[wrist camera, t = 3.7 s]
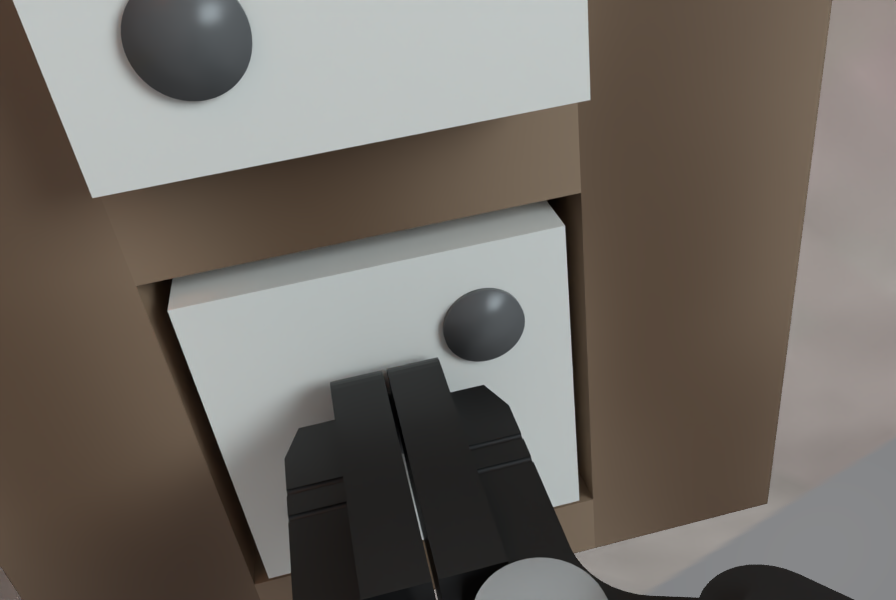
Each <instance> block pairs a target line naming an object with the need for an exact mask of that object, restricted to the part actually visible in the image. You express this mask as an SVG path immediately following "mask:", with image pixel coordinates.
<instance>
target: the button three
mask: <svg viewBox="0 0 896 600" xmlns="http://www.w3.org/2000/svg"><path fill="white" fill-rule="evenodd" d="M167 311H168V314H169V316H170V319H171V322H172V324H173V327H174V329H175V332H176V335H177V337H178V340H179V343H180V345H181V348H182V351H183V353H184V356H185V358H186V361H187V364H188V366H189V369H190V372H191V374H192V377H193V380H194V382H195V385H196V387H197V390H198V393H199V395H200V398H201V401H202V403H203V406H204V409H205V411H206V414H207V416H208V419H209V422H210V424H211V427H212V430H213V432H214V435H215V438H216V440H217V443H218V446H219V448H220V451H221V453H222V456H223V459H224V461H225V464H226V467H227V469H228V472H229V475H230V477H231V480H232V482H233V485H234V488H235V490H236V493H237V496H238V498H239V501H240V504H241V506H242V509H243V511H244V514H245V517H246V519H247V522H248V525H249V527H250V530H251V533H252V535H253V538H254V540H255V543H256V546H257V548H258V551H259V554H260V556H261V559H262V562H263V564H264V567H265V569H266V572H267V575H268V577H269V578H273V577H277V576H281V575H285V574H289V573H291V564H290V546H289V529H288V522H289V519H288V512H287V491H286V477H285V460H284V459H285V456H286V454H287V452H288V450H289V448H290V446H291V443H292V441H293V439H294V437H295V435H296V433H297V430H298V428H301V427H306V426H310V425H314V424H318V423H323V422H327V421H331V420H335V417H334V410H333V403H332V396H331V389H330V382H332V381H336V380H341V379H345V378H349V377H354V376H358V375H363V374H367V373H371V372H376V371H380V370H382V373H383V377H384V381H385V385H386V389H387V394H388V398H389V402H390V406H391V410H392V415H393V419H394V423H395V427H396V432H397V436H398V440H399V444H400V448H401V453H402V457H403V461H404V465H405V470H406V474H407V478H408V482H409V486H410V491H411V495H412V499H413V503H414V508H415V512H416V516H417V520H418V524H419V529H420V533H421V537H422V540H424V539H423V534H422V530H421V526H420V522H419V518H418V513H417V509H416V505H415V501H414V497H413V493H412V488H411V484H410V479H409V475H408V471H407V466H406V462H405V457H404V452H403V447H402V442H401V438H400V433H399V428H398V423H397V418H396V414H395V409H394V404H393V399H392V394H391V390H390V385H389V380H388V375H387V370H386V369H388V368H392V367H397V366H401V365H405V364H410V363H414V362H419V361H423V360H427V359H432V358H436V357H438V359H439V361H440V364H441V366H442V369H443V372H444V375H445V378H446V381H447V384H448V387H449V390H450V392H454V391H459V390H463V389H467V388H472V387H476V386H480V385H485V386H486V387H487V388H488V389H490V390H491V391H492V392H493V393H495V394H496V395H497V396H498V397H500V398H501V399H502V400H503V401H505V402H506V403H507V404H508V405H509V406H510V409H511V411H512V413H513V416H514V418H515V420H516V422H517V425H518V427H519V429H520V432H521V436H522V439H524V441H525V443H526V446H527V448H528V450H529V452H530V455H531V459H532V462H534V464H535V466H536V469H537V471H538V473H539V476H540V478H541V480H542V483H543V485H544V487H545V489H546V492H547V494H548V496H549V499H550V501H551V503H552V506H553V507H556V506H560V505H564V504H568V503H572V502H576V501H579V483H578V464H577V444H576V425H575V406H574V387H573V368H572V349H571V329H570V310H569V291H568V272H567V253H566V233H565V225H564V224H563V222H562V221H561V219H560V218H559V217H558V215H557V214H556V213H555V211H554V210H553V209H552V207H551V206H550V205H549V203H548V202H547V200H544V201H539V202H535V203H530V204H525V205H520V206H516V207H511V208H506V209H501V210H497V211H492V212H487V213H482V214H477V215H473V216H468V217H463V218H458V219H454V220H449V221H444V222H439V223H434V224H430V225H425V226H420V227H415V228H411V229H406V230H401V231H396V232H392V233H387V234H382V235H377V236H372V237H368V238H363V239H358V240H353V241H349V242H344V243H339V244H334V245H330V246H325V247H320V248H315V249H310V250H306V251H301V252H296V253H291V254H287V255H282V256H277V257H272V258H267V259H263V260H258V261H253V262H248V263H244V264H239V265H234V266H229V267H225V268H220V269H215V270H210V271H205V272H201V273H196V274H191V275H186V276H182V277H177V278H173V279H172V285H171V291H170V298H169V304H168V310H167Z"/></svg>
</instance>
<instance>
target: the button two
mask: <svg viewBox="0 0 896 600" xmlns="http://www.w3.org/2000/svg"><path fill="white" fill-rule="evenodd" d="M13 2H14V5H15V7H16V10H17V12H18V15H19V17H20V20H21V22H22V25H23V27H24V30H25V32H26V34H27V37H28V39H29V42H30V44H31V47H32V49H33V52H34V54H35V57H36V59H37V62H38V64H39V67H40V69H41V72H42V74H43V77H44V79H45V82H46V84H47V87H48V89H49V92H50V94H51V97H52V99H53V101H54V104H55V106H56V109H57V111H58V114H59V116H60V119H61V121H62V124H63V126H64V129H65V131H66V134H67V136H68V139H69V141H70V144H71V146H72V149H73V151H74V154H75V156H76V159H77V161H78V163H79V166H80V168H81V171H82V173H83V176H84V178H85V181H86V183H87V186H88V188H89V191H90V193H91V196H92V198H96V197H101V196H106V195H111V194H116V193H121V192H126V191H132V190H137V189H142V188H147V187H152V186H157V185H162V184H167V183H172V182H177V181H182V180H187V179H192V178H197V177H202V176H208V175H213V174H218V173H223V172H228V171H233V170H238V169H243V168H248V167H253V166H258V165H263V164H268V163H273V162H279V161H284V160H289V159H294V158H299V157H304V156H309V155H314V154H319V153H324V152H329V151H334V150H339V149H344V148H349V147H355V146H360V145H365V144H370V143H375V142H380V141H385V140H390V139H395V138H400V137H405V136H410V135H415V134H420V133H426V132H431V131H436V130H441V129H446V128H451V127H456V126H461V125H466V124H471V123H476V122H481V121H486V120H491V119H496V118H502V117H507V116H512V115H517V114H522V113H527V112H532V111H537V110H542V109H547V108H552V107H557V106H562V105H567V104H572V103H578V102H583V101H588V100H590V67H589V34H588V1H587V0H13Z"/></svg>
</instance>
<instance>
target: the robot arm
mask: <svg viewBox="0 0 896 600" xmlns="http://www.w3.org/2000/svg"><path fill="white" fill-rule="evenodd" d="M386 370H387V375H388V380H389V385H390V390H391V394H392V399H393V404H394V409H395V414H396V418H397V423H398V428H399V433H400V438H401V442H402V447H403V452H404V457H405V462H406V466H407V471H408V475H409V479H410V484H411V488H412V493H413V497H414V501H415V505H416V509H417V513H418V518H419V522H420V526H421V530H422V534H423V539H424V543H425V547H426V551H427V555H428V559H429V564H430V568H431V572H432V576H433V580H434V584H435V589H436V593H437V597H438V600H854V599H851V598H849V597H847V596H845V595H843V594H841V593H838V592H836V591H834V590H832V589H830V588H828V587H826V586H823V585H821V584H819V583H817V582H815V581H813V580H810V579H808V578H806V577H804V576H802V575H800V574H797V573H795V572H792V571H789V570H787V569H783V568H779V567H775V566H769V565H745V566H739V567H735V568H732V569H729V570H726V571H724V572H722V573H720V574H719V575H717V576H716V577H715V578H713V579H712V580H711V581H710V582H709V583H708V584H707V585H706V587H705V588H704V589H703V591H702V593H701V595H700V597H699V598H691V597H666V596H647V595H638V594H633V593H629V592H625V591H622V590H619V589H617V588H614V587H611V586H610V585H608V584H606V583H604V582H602V581H600V580H599V579H597V578H596V577H595V576H593V575H592V574H591V573H589V572H588V571H587V570H586V569H585V568H584V567H583V566H582V565H581V563H580V562H579V561H578V559H577V558H576V557H575V555H574V553H573V551H572V549H571V547H570V545H569V543H568V540H567V538H566V536H565V533H564V531H563V529H562V526H561V524H560V522H559V519H558V517H557V515H556V513H555V510H554V508H553V506H552V503H551V501H550V499H549V496H548V494H547V492H546V489H545V487H544V485H543V483H542V480H541V478H540V476H539V473H538V471H537V469H536V466H535V464H534V462H532V459H531V455H530V452H529V450H528V448H527V446H526V443H525V441H524V439H522V436H521V432H520V429H519V427H518V425H517V422H516V420H515V418H514V416H513V413H512V411H511V409H510V406H509V405H508V404H507V403H506V402H505V401H503V400H502V399H501V398H500V397H498V396H497V395H496V394H495V393H493V392H492V391H491V390H490V389H488V388H487V387H486V386H485V385H480V386H476V387H472V388H467V389H463V390H459V391H454V392H450V390H449V387H448V384H447V381H446V378H445V375H444V372H443V369H442V366H441V364H440V361H439V359H438V357H436V358H432V359H427V360H423V361H419V362H414V363H410V364H405V365H401V366H397V367H392V368H388V369H386ZM330 389H331V396H332V403H333V410H334V417H335V420H331V421H327V422H323V423H318V424H314V425H310V426H306V427H301V428H298V430H297V433H296V435H295V437H294V439H293V441H292V443H291V446H290V448H289V450H288V452H287V454H286V456H285V459H284V460H285V477H286V491H287V512H288V519H289V522H288V529H289V546H290V564H291V581H292V598H293V600H436V598H435V593H434V589H433V584H432V579H431V575H430V571H429V567H428V562H427V558H426V554H425V550H424V545H423V541H422V537H421V533H420V529H419V524H418V520H417V516H416V512H415V508H414V503H413V499H412V495H411V491H410V486H409V482H408V478H407V474H406V470H405V465H404V461H403V457H402V453H401V448H400V444H399V440H398V436H397V432H396V427H395V423H394V419H393V415H392V410H391V406H390V402H389V398H388V394H387V389H386V385H385V381H384V377H383V373H382V370H380V371H376V372H371V373H367V374H363V375H358V376H354V377H349V378H345V379H341V380H336V381H332V382H330Z"/></svg>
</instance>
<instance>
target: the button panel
mask: <svg viewBox="0 0 896 600" xmlns="http://www.w3.org/2000/svg"><path fill="white" fill-rule="evenodd" d="M587 1H588V34H589V67H590V100H588V101H583V102H578V103H572V104H567V105H562V106H557V107H552V108H547V109H542V110H537V111H532V112H527V113H522V114H517V115H512V116H507V117H502V118H496V119H491V120H486V121H481V122H476V123H471V124H466V125H461V126H456V127H451V128H446V129H441V130H436V131H431V132H426V133H420V134H415V135H410V136H405V137H400V138H395V139H390V140H385V141H380V142H375V143H370V144H365V145H360V146H355V147H349V148H344V149H339V150H334V151H329V152H324V153H319V154H314V155H309V156H304V157H299V158H294V159H289V160H284V161H279V162H273V163H268V164H263V165H258V166H253V167H248V168H243V169H238V170H233V171H228V172H223V173H218V174H213V175H208V176H202V177H197V178H192V179H187V180H182V181H177V182H172V183H167V184H162V185H157V186H152V187H147V188H142V189H137V190H132V191H126V192H121V193H116V194H111V195H106V196H101V197H96V198H92V196H91V193H90V191H89V188H88V186H87V183H86V181H85V178H84V176H83V173H82V171H81V168H80V166H79V163H78V161H77V159H76V156H75V154H74V151H73V149H72V146H71V144H70V141H69V139H68V136H67V134H66V131H65V129H64V126H63V124H62V121H61V119H60V116H59V114H58V111H57V109H56V106H55V104H54V101H53V99H52V97H51V94H50V92H49V89H48V87H47V84H46V82H45V79H44V77H43V74H42V72H41V69H40V67H39V64H38V62H37V59H36V57H35V54H34V52H33V49H32V47H31V44H30V42H29V39H28V37H27V34H26V32H25V30H24V27H23V25H22V22H21V20H20V17H19V15H18V12H17V10H16V7H15V5H14V2H13V0H0V566H1V568H2V569H3V571H4V572H5V574H6V575H7V577H8V578H9V580H10V582H11V583H12V585H13V586H14V588H15V589H16V591H17V592H18V594H19V595H20V597H21V598H22V600H293V598H292V581H291V573H289V574H285V575H281V576H277V577H273V578H269V577H268V575H267V572H266V569H265V567H264V564H263V562H262V559H261V556H260V554H259V551H258V548H257V546H256V543H255V540H254V538H253V535H252V533H251V530H250V527H249V525H248V522H247V519H246V517H245V514H244V511H243V509H242V506H241V504H240V501H239V498H238V496H237V493H236V490H235V488H234V485H233V482H232V480H231V477H230V475H229V472H228V469H227V467H226V464H225V461H224V459H223V456H222V453H221V451H220V448H219V446H218V443H217V440H216V438H215V435H214V432H213V430H212V427H211V424H210V422H209V419H208V416H207V414H206V411H205V409H204V406H203V403H202V401H201V398H200V395H199V393H198V390H197V387H196V385H195V382H194V380H193V377H192V374H191V372H190V369H189V366H188V364H187V361H186V358H185V356H184V353H183V351H182V348H181V345H180V343H179V340H178V337H177V335H176V332H175V329H174V327H173V324H172V322H171V319H170V316H169V314H168V311H167V310H168V304H169V298H170V291H171V285H172V279H173V278H177V277H182V276H186V275H191V274H196V273H201V272H205V271H210V270H215V269H220V268H225V267H229V266H234V265H239V264H244V263H248V262H253V261H258V260H263V259H267V258H272V257H277V256H282V255H287V254H291V253H296V252H301V251H306V250H310V249H315V248H320V247H325V246H330V245H334V244H339V243H344V242H349V241H353V240H358V239H363V238H368V237H372V236H377V235H382V234H387V233H392V232H396V231H401V230H406V229H411V228H415V227H420V226H425V225H430V224H434V223H439V222H444V221H449V220H454V219H458V218H463V217H468V216H473V215H477V214H482V213H487V212H492V211H497V210H501V209H506V208H511V207H516V206H520V205H525V204H530V203H535V202H539V201H544V200H547V202H548V203H549V205H550V206H551V207H552V209H553V210H554V211H555V213H556V214H557V215H558V217H559V218H560V219H561V221H562V222H563V224H564V225H565V233H566V253H567V272H568V291H569V310H570V329H571V349H572V368H573V387H574V406H575V425H576V444H577V464H578V483H579V501H576V502H572V503H568V504H564V505H560V506H556V507H553V508H554V510H555V513H556V515H557V517H558V519H559V522H560V524H561V526H562V529H563V531H564V533H565V536H566V538H567V540H568V543H569V545H570V547H571V549H572V551H573V553H577V552H581V551H585V550H589V549H593V548H597V547H600V546H604V545H608V544H612V543H616V542H620V541H624V540H628V539H631V538H635V537H639V536H643V535H647V534H651V533H655V532H659V531H662V530H666V529H670V528H674V527H678V526H682V525H686V524H690V523H693V522H697V521H701V520H705V519H709V518H713V517H717V516H721V515H724V514H728V513H732V512H736V511H740V510H744V509H748V508H752V507H755V506H759V505H763V504H767V502H768V494H769V486H770V478H771V471H772V463H773V455H774V447H775V440H776V432H777V424H778V416H779V408H780V401H781V393H782V385H783V377H784V370H785V362H786V354H787V346H788V339H789V331H790V323H791V315H792V308H793V300H794V292H795V284H796V276H797V269H798V261H799V253H800V245H801V238H802V230H803V222H804V214H805V207H806V199H807V191H808V183H809V176H810V168H811V160H812V152H813V144H814V137H815V129H816V121H817V113H818V106H819V98H820V90H821V82H822V75H823V67H824V59H825V51H826V44H827V36H828V28H829V20H830V13H831V5H832V0H587ZM422 541H423V545H424V550H425V554H426V558H427V562H428V567H429V571H430V575H431V579H432V584H433V589H435V584H434V580H433V576H432V572H431V568H430V564H429V559H428V555H427V551H426V547H425V543H424V540H422Z"/></svg>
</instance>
